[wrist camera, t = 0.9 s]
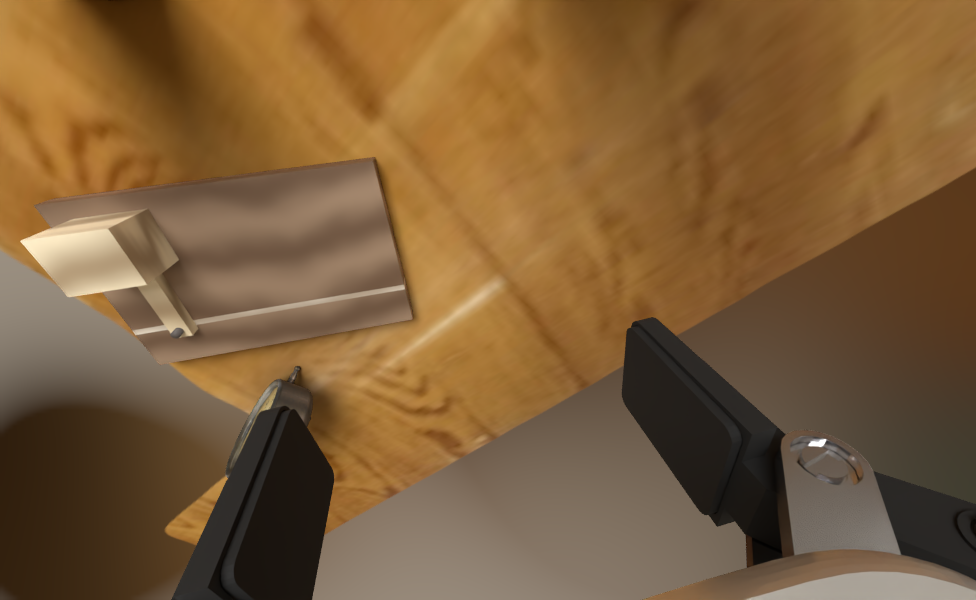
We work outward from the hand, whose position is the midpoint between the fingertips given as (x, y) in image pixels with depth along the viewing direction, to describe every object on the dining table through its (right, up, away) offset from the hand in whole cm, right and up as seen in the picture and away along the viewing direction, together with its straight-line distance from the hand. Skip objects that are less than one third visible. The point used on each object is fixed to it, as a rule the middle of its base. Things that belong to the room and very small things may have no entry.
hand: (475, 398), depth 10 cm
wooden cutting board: (-23, +7, +28) cm, 37 cm away
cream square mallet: (-32, +5, +25) cm, 41 cm away
